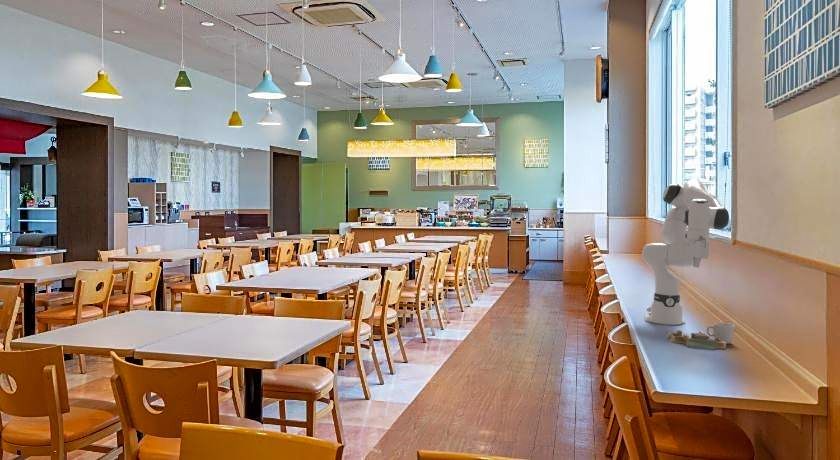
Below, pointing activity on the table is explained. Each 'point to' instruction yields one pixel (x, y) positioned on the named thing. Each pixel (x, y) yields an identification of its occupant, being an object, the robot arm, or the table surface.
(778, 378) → the table surface
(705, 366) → the table surface
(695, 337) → the block
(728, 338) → the cup
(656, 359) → the table surface
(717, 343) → the wooden flat frame
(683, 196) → the robot arm
